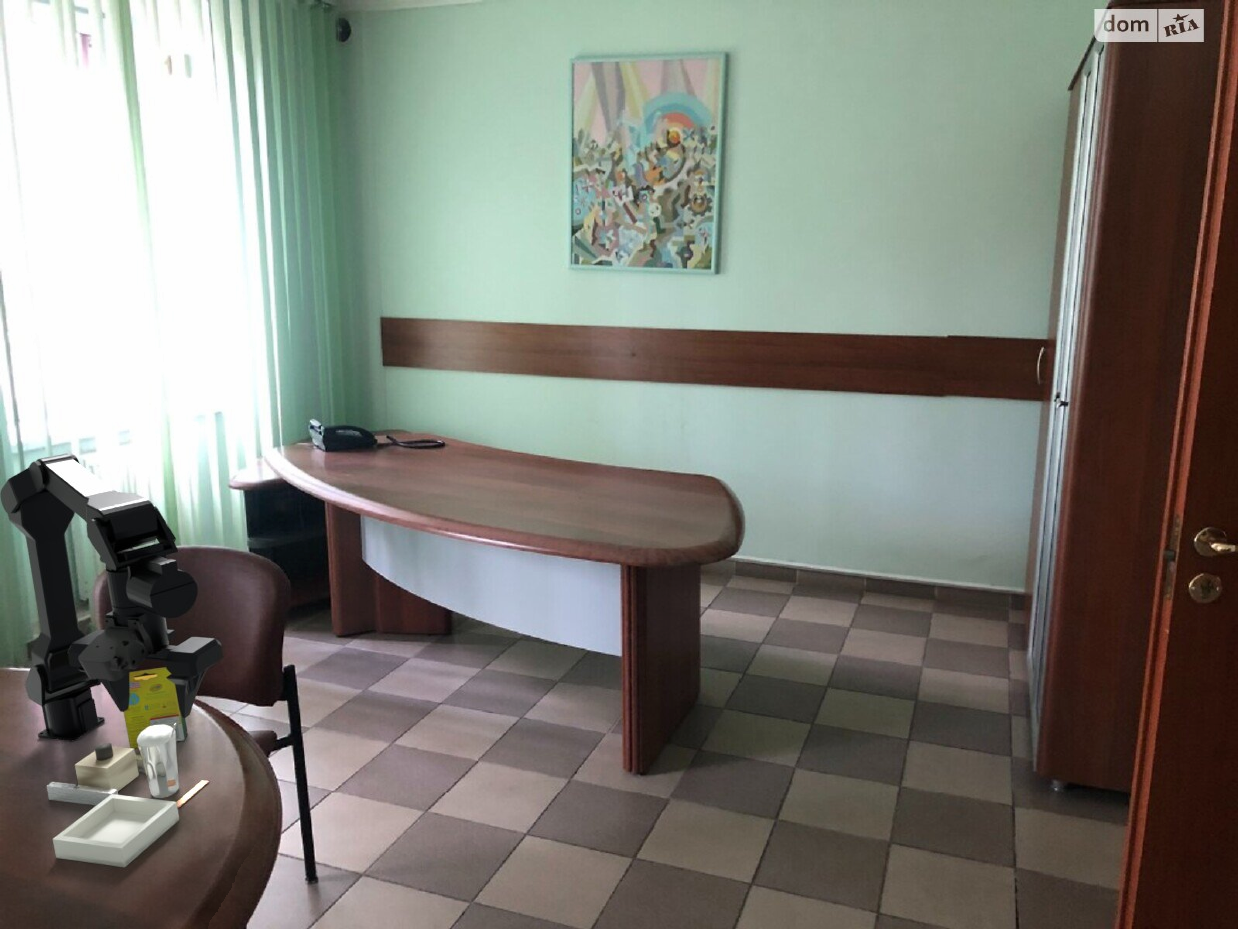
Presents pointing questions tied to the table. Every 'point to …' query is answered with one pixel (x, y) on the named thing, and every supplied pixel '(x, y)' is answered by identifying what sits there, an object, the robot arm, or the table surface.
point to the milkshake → (159, 759)
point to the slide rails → (101, 791)
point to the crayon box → (152, 704)
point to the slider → (107, 767)
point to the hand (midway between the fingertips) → (155, 713)
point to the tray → (116, 830)
